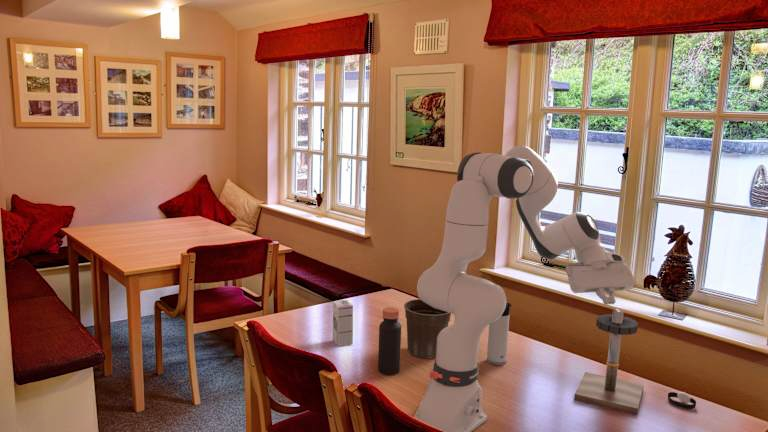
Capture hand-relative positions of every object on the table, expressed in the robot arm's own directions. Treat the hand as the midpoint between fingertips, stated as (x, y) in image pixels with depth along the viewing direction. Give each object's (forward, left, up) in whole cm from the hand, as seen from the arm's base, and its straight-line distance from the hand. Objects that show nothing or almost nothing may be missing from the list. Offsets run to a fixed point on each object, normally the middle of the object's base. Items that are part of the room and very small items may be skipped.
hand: (610, 303), depth 185 cm
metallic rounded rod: (-3, -3, -25) cm, 25 cm away
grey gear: (-3, -3, -6) cm, 7 cm away
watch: (+2, -22, -27) cm, 35 cm away
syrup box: (-10, +84, -27) cm, 89 cm away
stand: (-3, -3, -27) cm, 27 cm away
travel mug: (+3, +33, -27) cm, 43 cm away
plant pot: (-2, +56, -27) cm, 63 cm away
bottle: (-22, +60, -27) cm, 70 cm away
